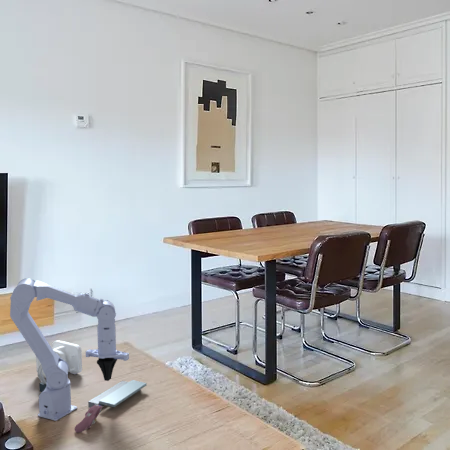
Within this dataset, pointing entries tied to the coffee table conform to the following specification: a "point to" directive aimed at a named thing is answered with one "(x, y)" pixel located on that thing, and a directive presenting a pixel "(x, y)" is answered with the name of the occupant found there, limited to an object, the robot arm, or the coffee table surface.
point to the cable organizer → (66, 356)
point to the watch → (41, 379)
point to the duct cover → (122, 393)
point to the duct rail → (105, 394)
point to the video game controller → (88, 418)
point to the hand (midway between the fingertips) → (107, 379)
